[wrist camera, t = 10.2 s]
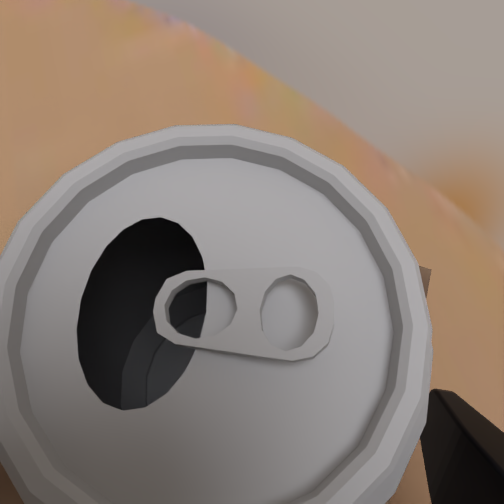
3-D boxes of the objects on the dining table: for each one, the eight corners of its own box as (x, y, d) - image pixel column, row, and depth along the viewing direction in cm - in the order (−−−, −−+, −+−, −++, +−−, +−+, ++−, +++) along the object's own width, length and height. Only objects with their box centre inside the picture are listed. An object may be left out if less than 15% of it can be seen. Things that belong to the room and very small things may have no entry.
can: (145, 282, 18) (13, 58, 7) (323, 301, 18) (463, 106, 7) (106, 483, 16) (-210, 619, 4) (316, 505, 16) (527, 695, 4)
